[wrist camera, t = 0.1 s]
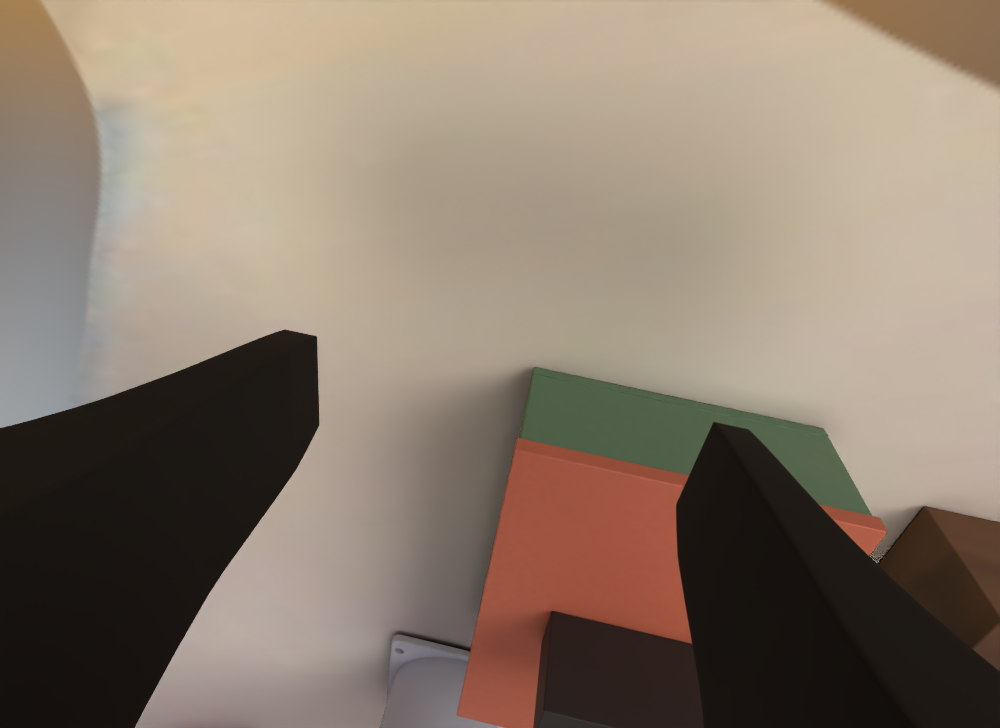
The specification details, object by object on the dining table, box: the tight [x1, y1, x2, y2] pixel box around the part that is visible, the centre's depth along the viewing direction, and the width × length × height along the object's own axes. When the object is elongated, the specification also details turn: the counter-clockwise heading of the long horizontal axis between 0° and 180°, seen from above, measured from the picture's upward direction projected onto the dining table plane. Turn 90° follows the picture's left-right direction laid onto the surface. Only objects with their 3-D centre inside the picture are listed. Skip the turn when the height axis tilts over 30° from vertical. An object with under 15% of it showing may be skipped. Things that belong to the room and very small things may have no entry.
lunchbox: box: [519, 367, 872, 516], centre depth 23 cm, size 16×11×4 cm
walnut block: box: [879, 507, 1000, 671], centre depth 21 cm, size 5×5×5 cm
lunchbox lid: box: [457, 438, 887, 728], centre depth 20 cm, size 16×11×4 cm
